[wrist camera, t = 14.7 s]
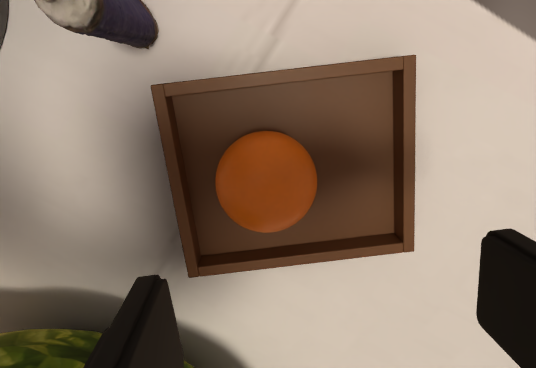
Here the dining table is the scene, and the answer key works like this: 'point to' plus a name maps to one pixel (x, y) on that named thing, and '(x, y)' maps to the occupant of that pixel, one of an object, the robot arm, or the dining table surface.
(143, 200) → the dining table surface
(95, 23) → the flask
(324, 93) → the tray
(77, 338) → the lettuce
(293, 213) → the mandarin
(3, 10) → the bowl
